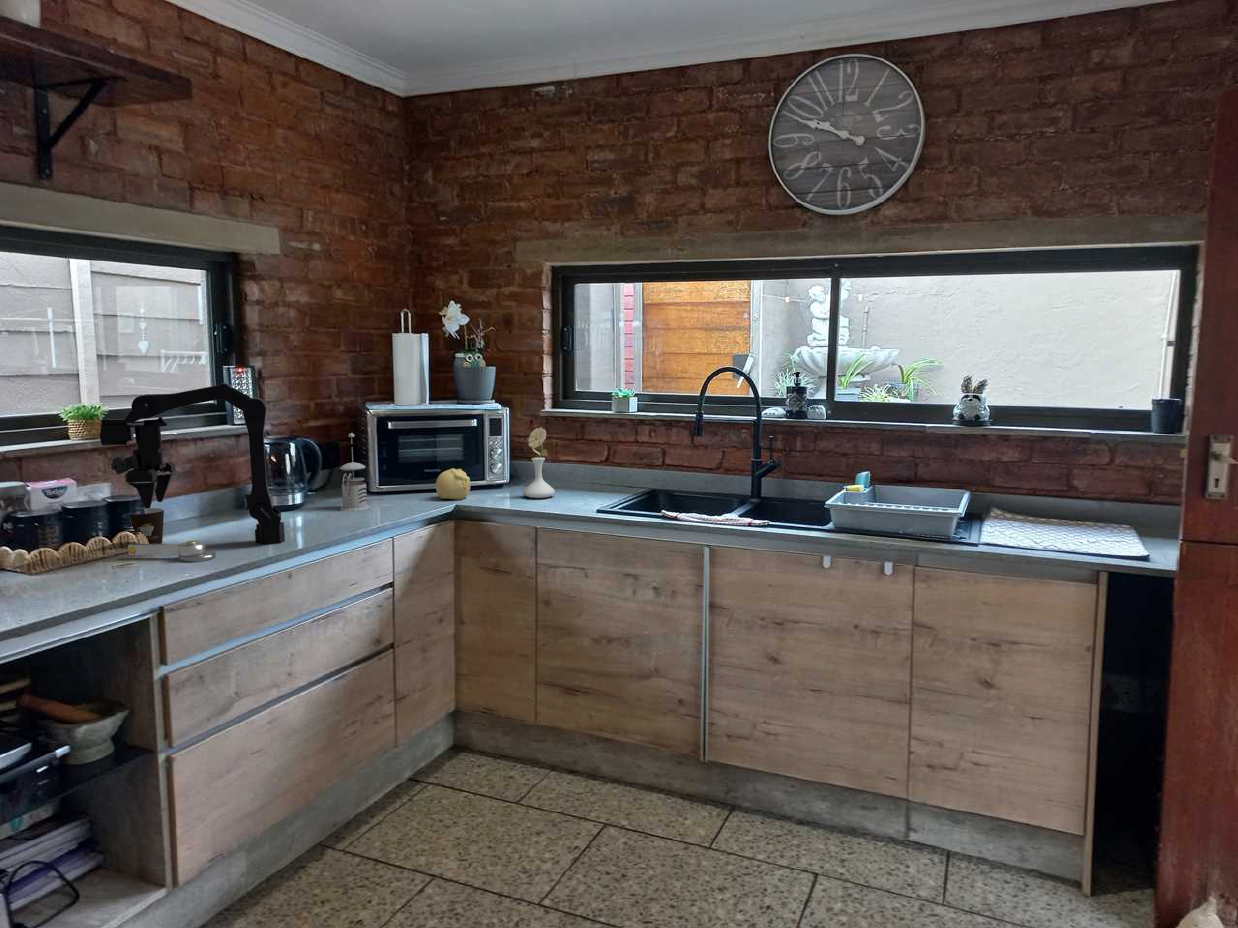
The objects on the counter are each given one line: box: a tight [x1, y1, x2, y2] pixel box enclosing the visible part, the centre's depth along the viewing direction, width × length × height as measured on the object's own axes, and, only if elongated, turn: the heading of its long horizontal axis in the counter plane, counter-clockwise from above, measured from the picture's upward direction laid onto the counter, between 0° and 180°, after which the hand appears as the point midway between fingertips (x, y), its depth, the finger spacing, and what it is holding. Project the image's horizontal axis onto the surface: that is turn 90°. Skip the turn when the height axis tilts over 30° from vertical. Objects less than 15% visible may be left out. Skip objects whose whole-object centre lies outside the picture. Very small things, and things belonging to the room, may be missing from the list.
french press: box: [339, 432, 371, 512], centre depth 284 cm, size 10×12×25 cm
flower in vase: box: [522, 426, 556, 499], centre depth 303 cm, size 13×11×25 cm
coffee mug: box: [130, 507, 165, 544], centre depth 231 cm, size 12×9×10 cm
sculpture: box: [435, 467, 472, 500], centre depth 303 cm, size 12×12×11 cm
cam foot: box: [127, 540, 217, 563], centre depth 215 cm, size 21×8×4 cm, turn 88°
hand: (153, 505), depth 221 cm, fingers open, 9 cm apart
